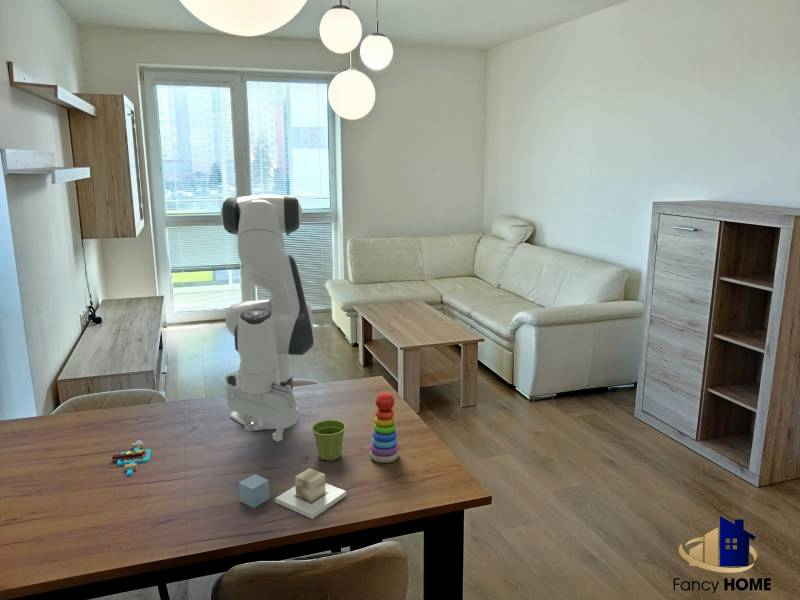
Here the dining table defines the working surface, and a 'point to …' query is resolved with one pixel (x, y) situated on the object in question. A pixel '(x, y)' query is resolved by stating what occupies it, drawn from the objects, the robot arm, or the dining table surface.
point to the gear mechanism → (136, 453)
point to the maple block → (310, 484)
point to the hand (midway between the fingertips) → (263, 435)
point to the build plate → (312, 507)
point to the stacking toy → (384, 431)
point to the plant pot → (329, 438)
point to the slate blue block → (254, 490)
